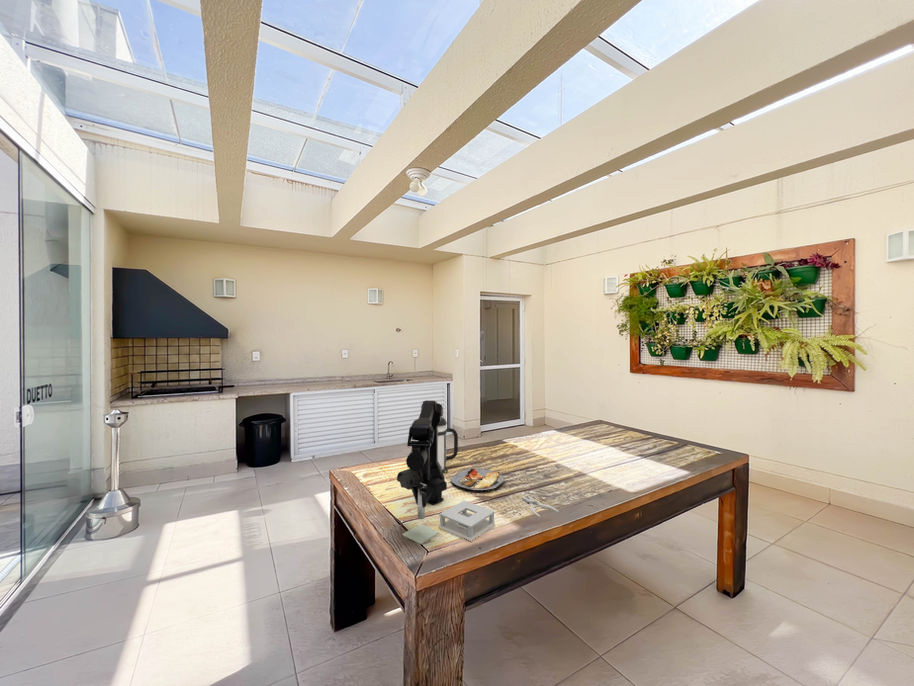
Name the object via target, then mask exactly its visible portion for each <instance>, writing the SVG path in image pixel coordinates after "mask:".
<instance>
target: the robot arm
mask: <svg viewBox="0 0 914 686" xmlns="http://www.w3.org/2000/svg"><path fill="white" fill-rule="evenodd" d="M420 409H421V410H420V413H419V416H418V418H416V419H415V420H414V421H413V422H412V423H411V426H409V430H408V438H407V447H411V451H410V452H409V454H408V455H407V456H406V460H405V462H406V466H407V467H408V469H407V468H406V469H404V470H401V471H399V472H398V473H397V475H396V481H397V482H399V485H400V487H401V488H403V489H407V490H408V491H409V490H411V493H412V495H413V498H414V500H415V503H416V506H418V488H419V487H423V488H422V489H420V490H419V491H420V492H421V493H422V506H423V508H424V507H425V508H426V506H427V504H430V505H432V506H433V505H436V504H438V503H440V502H442V501H444V500H445V498H443V492H444V491H446V490H448V487H447V485H448V484H447V481H446V480H445V476H444V472H443V471H442V468H441V466H440V464H439V462H438V424H439V423H440V421H441V419H442V417H444V406H443V405H442V404H440V403H438V402H437V401H435V400H424V401H423V400H422V404H421V406H420Z"/></svg>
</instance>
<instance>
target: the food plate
mask: <svg viewBox="0 0 914 686" xmlns="http://www.w3.org/2000/svg"><path fill="white" fill-rule="evenodd" d="M462 477H463V478H464V477H465V478H466V479H467V480H469V481H468V482H463V484H462V483H460V480H461V479H462ZM460 478H461V479H460ZM480 479H482V480H480ZM462 480H463V479H462ZM477 481H479V482H478V484H476V483H477ZM505 481H506V478H505V477H504V476H503V475H502V473H501V471H494V470H490V469H486V468H475V467H473V468H470V469H465V470H461V471H459V472H457V473H456V474H454V475H453V476H451V478H450V482H451V483H453V484H454V485H456V486H457V487H460V488H463V489H466V490H467V489H468V490H473V491H484V490H485V491H487V490H490V489H491V490H492V489H496V488H497V487H499V486H501V484H502V483H504V482H505ZM471 486H472V487H473V486H474V487H473V488H472V487H471Z"/></svg>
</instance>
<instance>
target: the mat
mask: <svg viewBox="0 0 914 686" xmlns="http://www.w3.org/2000/svg"><path fill="white" fill-rule="evenodd" d="M440 533H441V532H440V531H438V530H436V529H434V528H432V527H429V526H427V525H424V524H423V523H420V524H418V525H416V526H415V527H412V528H410V529H408V530H407V531H405V532H403V533H402V534H401V535H402V536H403V537H405V538H406V539H410V540H411V541H413V542H415V543H417V544H419V545H423V544H424V543H426V542H428V541H430V540H431V539H432V538H435V537H436V536H437V535H439V534H440Z"/></svg>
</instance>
